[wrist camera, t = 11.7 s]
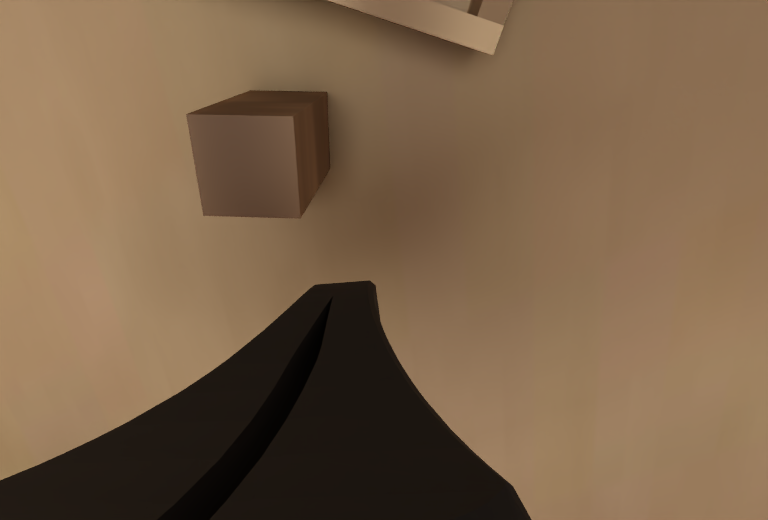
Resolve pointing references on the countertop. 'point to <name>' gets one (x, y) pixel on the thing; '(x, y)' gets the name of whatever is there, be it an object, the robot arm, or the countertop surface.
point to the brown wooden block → (261, 153)
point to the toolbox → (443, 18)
